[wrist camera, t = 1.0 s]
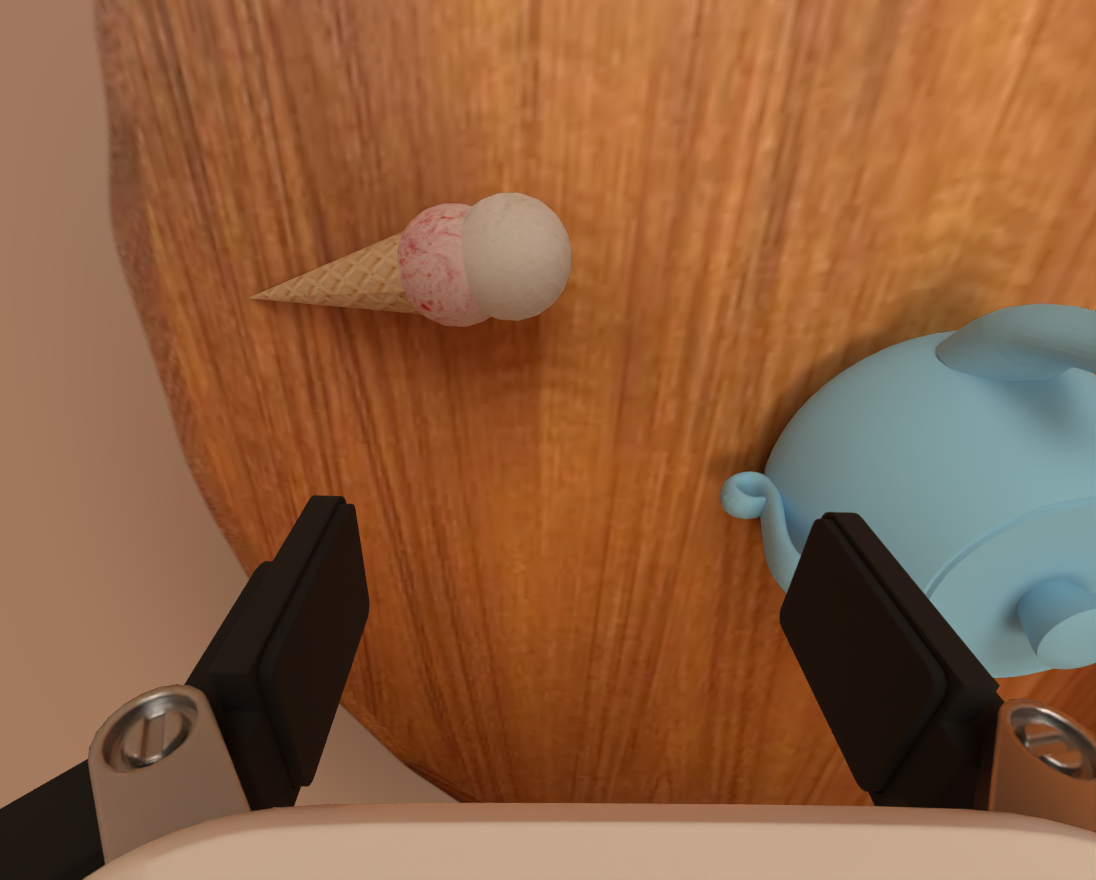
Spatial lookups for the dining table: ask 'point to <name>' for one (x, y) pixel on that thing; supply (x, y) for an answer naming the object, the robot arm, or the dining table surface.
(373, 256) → the ice cream cone
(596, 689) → the dining table surface
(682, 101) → the dining table surface
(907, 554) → the teapot
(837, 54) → the dining table surface
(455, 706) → the dining table surface
